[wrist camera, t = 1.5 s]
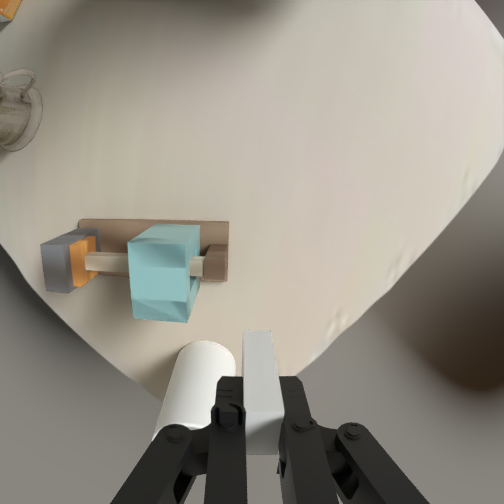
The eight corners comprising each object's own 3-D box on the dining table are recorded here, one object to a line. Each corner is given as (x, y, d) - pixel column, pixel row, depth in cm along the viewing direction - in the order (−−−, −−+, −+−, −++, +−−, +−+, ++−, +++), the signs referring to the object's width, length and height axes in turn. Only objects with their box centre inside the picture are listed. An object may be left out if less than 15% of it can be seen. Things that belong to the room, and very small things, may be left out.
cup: (197, 329, 40) (176, 412, 25) (247, 361, 42) (250, 448, 26) (166, 367, 42) (138, 449, 26) (213, 396, 43) (204, 480, 28)
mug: (1, 161, 34) (-56, 166, 22) (-7, 104, 31) (-60, 97, 19) (73, 119, 33) (18, 106, 21) (64, 57, 30) (13, 31, 19)
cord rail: (82, 218, 36) (39, 234, 27) (228, 221, 37) (223, 240, 27) (86, 271, 38) (48, 299, 28) (227, 278, 39) (222, 314, 29)
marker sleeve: (155, 224, 34) (127, 242, 25) (200, 225, 34) (185, 244, 25) (157, 284, 35) (133, 318, 27) (199, 286, 36) (187, 322, 27)
